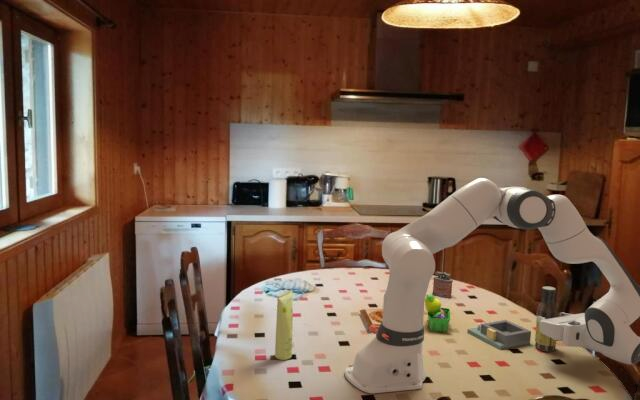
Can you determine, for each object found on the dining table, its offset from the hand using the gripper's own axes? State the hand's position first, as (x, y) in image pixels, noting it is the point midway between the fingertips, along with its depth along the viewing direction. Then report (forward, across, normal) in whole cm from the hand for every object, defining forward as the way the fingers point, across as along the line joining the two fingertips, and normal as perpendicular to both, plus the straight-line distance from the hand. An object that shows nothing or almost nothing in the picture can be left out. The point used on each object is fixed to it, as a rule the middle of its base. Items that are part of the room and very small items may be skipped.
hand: (549, 316), depth 168 cm
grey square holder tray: (+13, +8, +11) cm, 19 cm away
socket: (+11, +7, +10) cm, 16 cm away
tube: (+25, +80, +11) cm, 84 cm away
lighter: (+56, -3, +11) cm, 57 cm away
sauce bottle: (+1, 0, +11) cm, 11 cm away
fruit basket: (+29, +21, +11) cm, 37 cm away
